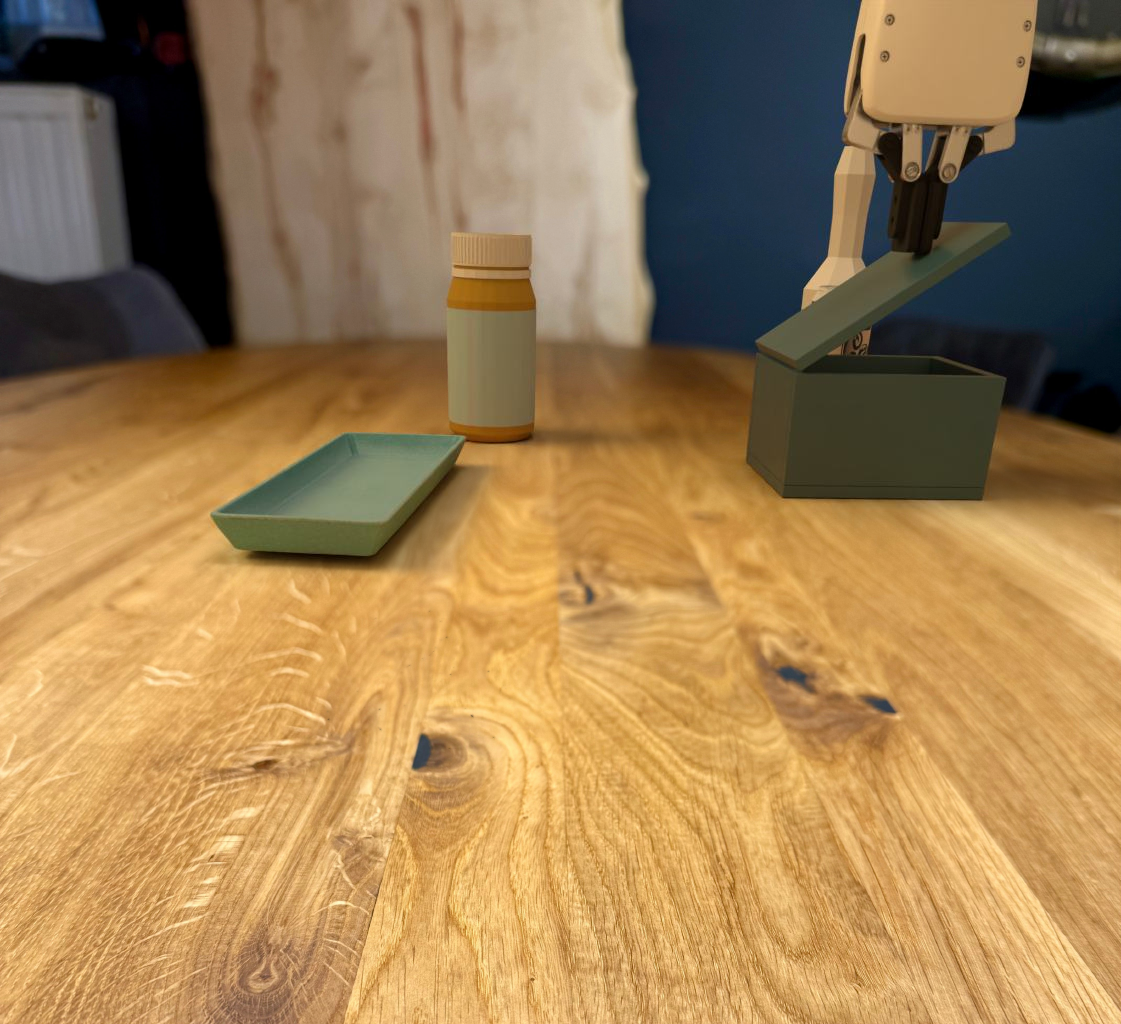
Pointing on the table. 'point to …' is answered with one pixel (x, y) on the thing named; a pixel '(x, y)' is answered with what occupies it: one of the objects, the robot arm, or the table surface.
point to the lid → (876, 293)
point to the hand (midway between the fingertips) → (910, 251)
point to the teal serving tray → (340, 495)
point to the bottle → (491, 337)
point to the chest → (874, 427)
